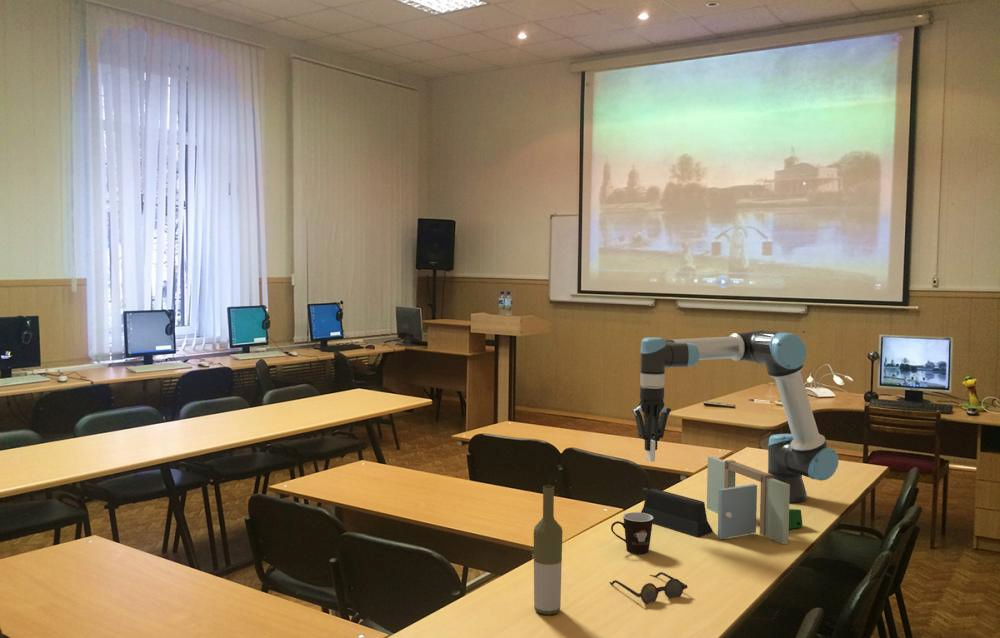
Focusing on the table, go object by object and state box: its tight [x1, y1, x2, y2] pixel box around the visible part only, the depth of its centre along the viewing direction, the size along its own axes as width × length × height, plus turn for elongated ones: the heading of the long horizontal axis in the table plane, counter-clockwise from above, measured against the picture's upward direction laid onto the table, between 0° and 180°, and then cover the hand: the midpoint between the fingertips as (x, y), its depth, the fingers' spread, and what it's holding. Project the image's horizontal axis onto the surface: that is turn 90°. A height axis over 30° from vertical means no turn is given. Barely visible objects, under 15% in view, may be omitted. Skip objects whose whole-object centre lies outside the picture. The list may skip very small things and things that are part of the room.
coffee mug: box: [610, 511, 654, 555], centre depth 221 cm, size 12×9×10 cm
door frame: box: [706, 456, 790, 545], centre depth 245 cm, size 3×38×19 cm, turn 20°
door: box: [717, 484, 758, 540], centre depth 232 cm, size 14×3×15 cm, turn 115°
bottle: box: [533, 484, 563, 615], centre depth 180 cm, size 7×7×30 cm
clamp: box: [789, 508, 803, 530], centre depth 243 cm, size 12×6×9 cm, turn 97°
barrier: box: [640, 487, 714, 539], centre depth 244 cm, size 24×9×10 cm, turn 41°
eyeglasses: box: [608, 571, 688, 605], centre depth 194 cm, size 15×15×5 cm
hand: (650, 460), depth 240 cm, fingers closed
